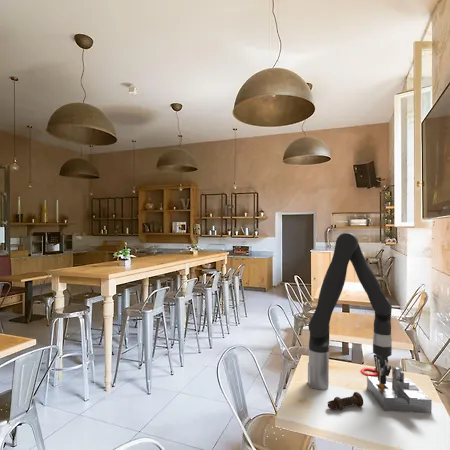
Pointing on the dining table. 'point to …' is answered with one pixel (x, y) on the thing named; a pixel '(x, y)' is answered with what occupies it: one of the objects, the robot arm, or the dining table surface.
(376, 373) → the tow hook
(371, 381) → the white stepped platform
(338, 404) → the bolt
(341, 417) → the dining table surface
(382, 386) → the rounded pin
